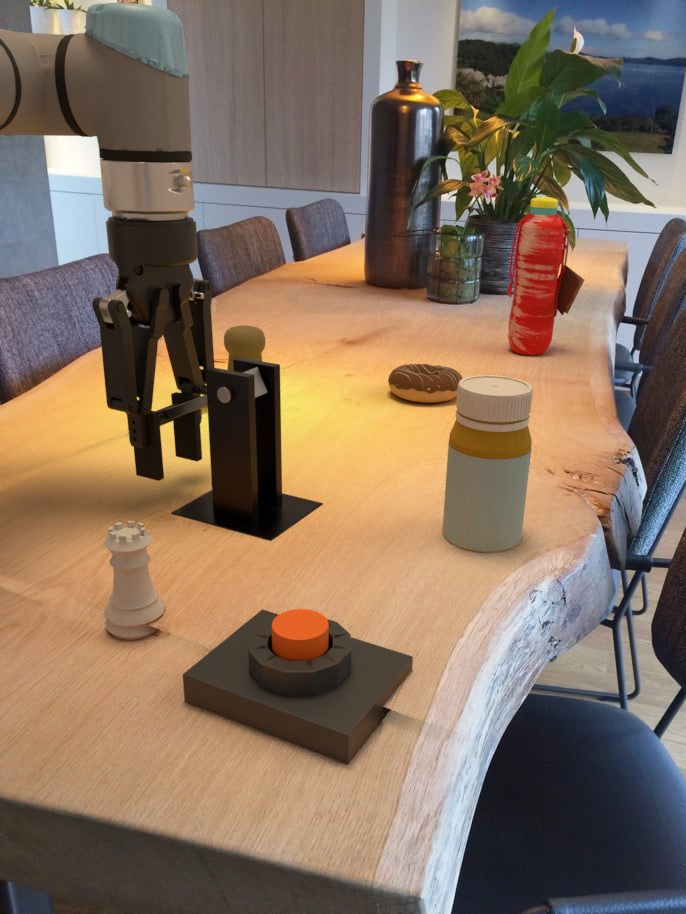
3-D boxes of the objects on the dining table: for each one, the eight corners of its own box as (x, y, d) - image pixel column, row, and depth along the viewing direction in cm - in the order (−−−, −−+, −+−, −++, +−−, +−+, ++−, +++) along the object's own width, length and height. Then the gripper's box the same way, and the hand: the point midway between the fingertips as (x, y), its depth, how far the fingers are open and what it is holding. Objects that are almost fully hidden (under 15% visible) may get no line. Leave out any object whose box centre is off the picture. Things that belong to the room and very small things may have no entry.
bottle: (457, 523, 79) (470, 369, 73) (529, 539, 76) (547, 381, 70) (429, 553, 73) (440, 389, 67) (505, 572, 70) (523, 402, 64)
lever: (148, 436, 77) (137, 412, 76) (182, 421, 81) (173, 398, 80) (244, 402, 70) (233, 376, 70) (276, 388, 74) (266, 363, 74)
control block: (184, 702, 53) (180, 650, 52) (262, 634, 61) (261, 587, 59) (348, 765, 48) (349, 710, 47) (411, 683, 56) (414, 633, 54)
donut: (394, 407, 111) (395, 378, 109) (381, 385, 121) (382, 358, 119) (471, 406, 113) (473, 377, 111) (452, 384, 122) (454, 357, 121)
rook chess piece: (152, 646, 59) (143, 546, 56) (94, 638, 60) (81, 539, 56) (177, 613, 63) (169, 518, 60) (122, 606, 64) (111, 512, 60)
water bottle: (565, 347, 146) (585, 196, 136) (577, 358, 139) (598, 200, 128) (498, 345, 146) (512, 194, 135) (505, 356, 138) (521, 198, 128)
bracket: (171, 525, 77) (159, 369, 71) (229, 491, 84) (222, 347, 78) (271, 553, 72) (267, 389, 66) (323, 515, 80) (323, 364, 74)
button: (260, 652, 52) (260, 629, 52) (291, 625, 55) (291, 603, 55) (309, 669, 51) (310, 645, 50) (338, 640, 54) (338, 617, 53)
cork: (213, 411, 107) (209, 327, 103) (245, 401, 112) (243, 319, 107) (248, 421, 104) (245, 334, 100) (280, 410, 109) (278, 326, 104)
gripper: (108, 226, 62) (136, 508, 71) (248, 210, 77) (255, 446, 86) (35, 219, 65) (71, 491, 74) (183, 205, 80) (197, 433, 89)
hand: (170, 466), depth 80 cm, fingers closed on lever, 5 cm apart
